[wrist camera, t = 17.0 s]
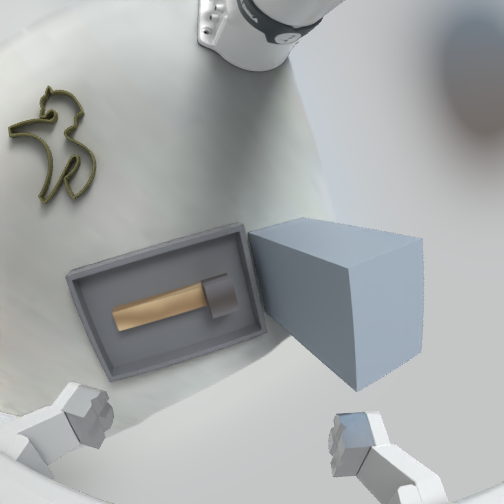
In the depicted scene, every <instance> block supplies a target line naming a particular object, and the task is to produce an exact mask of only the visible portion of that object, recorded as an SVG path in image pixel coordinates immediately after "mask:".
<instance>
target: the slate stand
mask: <svg viewBox="0 0 504 504" xmlns="http://www.w3.org/2000/svg"><path fill="white" fill-rule="evenodd" d="M248 234H249V238H250V243H251V248H252V252H253V257H254V261H255V266H256V271H257V275H258V280H259V285H260V289H261V294H262V298H263V303H264V308H265V312H267V313H268V314H269V315H270V316H271V317H272V318H273V319H274V320H275V321H276V322H278V323H279V324H280V325H281V326H282V327H283V328H284V329H285V330H286V331H288V332H289V333H290V334H291V335H292V336H293V337H294V338H295V339H297V340H298V341H299V342H300V343H301V344H302V345H303V346H304V347H306V348H307V349H308V350H309V351H310V352H311V353H312V354H313V355H315V356H316V357H317V358H318V359H319V360H320V361H321V362H322V363H324V364H325V365H326V366H327V367H328V368H329V369H331V370H332V371H333V372H334V373H335V374H336V375H337V376H339V377H340V378H341V379H342V380H343V381H344V382H346V383H347V384H348V385H349V386H350V387H351V388H353V389H354V390H355V391H356V392H358V391H360V390H361V389H363V388H365V387H367V386H368V385H370V384H372V383H374V382H375V381H377V380H379V379H380V378H382V377H384V376H385V375H387V374H388V373H390V372H392V371H393V370H395V369H396V368H398V367H399V366H401V365H403V364H404V363H405V362H407V361H409V360H410V359H412V358H413V357H415V356H416V355H417V354H419V353H420V352H421V349H422V333H423V313H424V262H423V239H422V238H416V237H411V236H406V235H401V234H395V233H390V232H385V231H379V230H374V229H369V228H363V227H357V226H352V225H346V224H340V223H334V222H328V221H322V220H316V219H310V218H299V219H295V220H292V221H288V222H284V223H281V224H277V225H273V226H270V227H266V228H262V229H259V230H255V231H251V232H248Z"/></svg>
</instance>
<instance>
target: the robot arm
mask: <svg viewBox="0 0 504 504" xmlns="http://www.w3.org/2000/svg"><path fill="white" fill-rule="evenodd" d="M343 1H345V0H199V17H198V42H199V43H200V44H201V45H203V46H205V47H207V48H210V49H213V50H215V51H216V52H217V53H219V54H220V55H221V56H222V57H223V58H224V59H225V60H227V61H228V62H229V63H231V64H233V65H235V66H237V67H239V68H242V69H245V70H250V71H267V70H271V69H274V68H276V67H278V66H279V65H281V64H282V63H283V62H284V61H285V60H286V58H287V57H288V55H289V53H290V51H291V50H292V48H293V47H294V45H295V44H297V43H298V42H299V41H300V40H301V38H302V37H303V36H304V35H306V34H307V33H308V32H310V31H311V30H312V29H313V28H314V27H315V26H317V25H318V24H319V23H320V22H321V20H322V19H323V17H324V16H325V15H326V14H327V13H329V12H330V11H331V10H333V9H334V8H335V7H336V6H338V5H339V4H340V3H342V2H343ZM204 32H207V33H208V34H205V33H204ZM108 399H109V397H108V395H107V392H106V391H103V390H100V389H96V388H93V387H89V386H86V385H83V384H79V383H76V382H70V383H68V384H67V386H66V387H65V388H64V390H63V391H62V392H61V393H60V395H59V396H58V397H57V399H56V400H55V401H54V402H53V404H52V405H51V406H46V407H43V408H41V409H38V410H36V411H34V412H31V413H29V414H26V415H24V416H22V417H19V418H17V419H14V420H12V421H9V422H7V423H4V424H3V425H2V426H1V427H0V504H113V503H109V502H107V501H104V500H101V499H98V498H96V497H93V496H90V495H88V494H84V493H82V492H80V491H77V490H75V489H73V488H70V487H68V486H66V485H63V484H61V483H59V482H57V481H55V480H53V479H54V474H53V473H52V472H51V470H50V469H49V467H48V465H49V464H51V463H52V462H54V461H55V460H57V459H58V458H60V457H62V456H63V455H65V454H66V453H68V452H69V451H71V450H72V449H74V448H75V447H77V446H79V445H80V443H81V444H84V445H87V446H91V447H94V448H97V449H99V448H100V446H101V444H102V442H103V440H104V439H105V434H104V432H105V431H106V430H108V429H110V427H111V425H112V423H113V418H114V414H113V409H112V406H111V405H110V404H109V403H108V402H107V400H108ZM329 453H330V454H331V455H332V456H333V458H332V461H331V467H332V473H333V477H343V476H356V477H357V478H358V479H359V480H360V481H361V482H362V483H363V485H364V486H365V487H366V488H367V489H368V490H369V491H370V492H371V493H372V494H373V495H374V496H375V497H376V498H377V500H378V501H379V502H380V503H381V504H449V502H448V499H447V496H446V494H445V491H444V488H443V485H442V483H441V480H440V477H439V476H438V475H436V474H435V473H433V472H432V471H431V470H429V469H428V468H426V467H425V466H424V465H422V464H421V463H420V462H418V461H417V460H415V459H414V458H412V457H411V456H410V455H409V454H407V453H406V452H404V451H403V450H402V449H400V448H399V447H398V446H397V445H395V444H390V441H389V438H388V435H387V432H386V429H385V426H384V423H383V420H382V417H381V415H380V413H379V412H378V411H372V412H358V413H342V414H336V416H335V418H334V427H333V428H332V429H331V431H330V434H329ZM450 504H504V482H502V483H500V484H497V485H495V486H493V487H491V488H488V489H486V490H484V491H482V492H479V493H477V494H474V495H472V496H469V497H466V498H464V499H461V500H458V501H456V502H452V503H450Z"/></svg>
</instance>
